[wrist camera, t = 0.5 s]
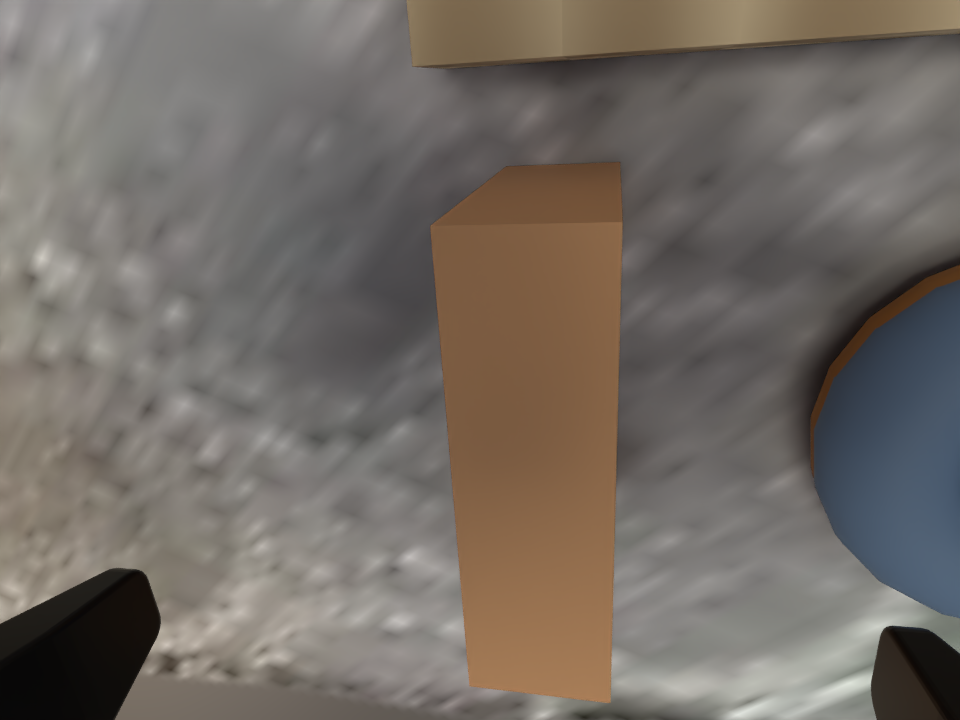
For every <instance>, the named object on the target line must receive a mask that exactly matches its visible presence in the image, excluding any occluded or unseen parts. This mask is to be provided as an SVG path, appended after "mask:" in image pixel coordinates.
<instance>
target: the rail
mask: <svg viewBox="0 0 960 720" xmlns="http://www.w3.org/2000/svg"><path fill="white" fill-rule="evenodd" d="M407 10H408V21H409V32H410V44H411V55H412V67H426V68H441V69H449V68H464V67H478V66H493V65H507V64H522V63H537V62H551V61H566V60H581V59H595V58H610V57H625V56H639V55H654V54H668V53H683V52H698V51H712V50H727V49H742V48H756V47H771V46H785V45H800V44H815V43H829V42H844V41H859V40H873V39H888V38H902V37H917V36H932V35H946V34H960V0H407Z"/></svg>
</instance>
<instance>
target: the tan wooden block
mask: <svg viewBox="0 0 960 720" xmlns="http://www.w3.org/2000/svg"><path fill="white" fill-rule="evenodd" d="M430 230H431V242H432V253H433V265H434V277H435V288H436V300H437V312H438V323H439V335H440V347H441V358H442V370H443V382H444V393H445V405H446V417H447V428H448V440H449V452H450V463H451V475H452V487H453V498H454V510H455V522H456V533H457V545H458V557H459V568H460V580H461V592H462V603H463V615H464V627H465V638H466V650H467V662H468V673H469V685H470V686H472V687H480V688H488V689H497V690H505V691H513V692H522V693H530V694H538V695H547V696H555V697H564V698H572V699H580V700H589V701H597V702H605V703H610V695H611V656H612V618H613V579H614V540H615V501H616V463H617V424H618V385H619V346H620V308H621V269H622V230H623V217H622V194H621V171H620V162H610V163H583V164H557V165H530V166H506V167H505V168H504V169H502V170H501V171H500V172H498V173H497V174H496V175H495V176H493V177H492V178H491V179H490V180H488V181H487V182H486V183H484V184H483V185H482V186H481V187H479V188H478V189H477V190H475V191H474V192H473V193H472V194H470V195H469V196H468V197H467V198H465V199H464V200H463V201H461V202H460V203H459V204H458V205H456V206H455V207H454V208H452V209H451V210H450V211H449V212H447V213H446V214H445V215H443V216H442V217H441V218H440V219H438V220H437V221H436V222H435V223H433V224H432V225H431V226H430Z"/></svg>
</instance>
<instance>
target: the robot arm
mask: <svg viewBox="0 0 960 720" xmlns="http://www.w3.org/2000/svg"><path fill="white" fill-rule="evenodd" d="M160 625H161V617H160V613H159V610H158V607H157V604H156V601H155V598H154V595H153V592H152V589H151V586H150V583H149V580H148V578H147V576H146V575H145V574H144V573H143V572H142V571H140V570H137V569H124V568H113V569H109V570H107V571H105V572H103V573H101V574H99V575H97V576H95V577H93V578H91V579H89V580H87V581H85V582H83V583H81V584H79V585H77V586H75V587H73V588H71V589H69V590H67V591H65V592H63V593H61V594H59V595H57V596H55V597H53V598H51V599H49V600H47V601H45V602H43V603H41V604H39V605H37V606H35V607H33V608H31V609H29V610H27V611H25V612H23V613H21V614H19V615H17V616H15V617H13V618H11V619H9V620H7V621H5V622H3V623H1V624H0V720H115V718H116V716H117V714H118V712H119V710H120V708H121V706H122V704H123V702H124V700H125V698H126V696H127V694H128V693H129V691H130V689H131V687H132V685H133V683H134V681H135V679H136V677H137V675H138V673H139V671H140V669H141V667H142V665H143V663H144V661H145V660H146V658H147V656H148V654H149V652H150V650H151V648H152V646H153V644H154V642H155V640H156V638H157V636H158V633H159V630H160ZM871 696H872V702H873V707H874V711H875V714H876V718H877V720H960V653H958V652H957V651H956V650H955V649H953V648H952V647H951V646H950V645H948V644H947V643H946V642H945V641H943V640H942V639H941V638H940V637H938V636H937V635H936V634H934V633H933V632H931V631H929V630H927V629H923V628H914V627H901V626H889V627H886V628H884V630H883V631H882V633H881V636H880V640H879V645H878V650H877V655H876V660H875V665H874V670H873V675H872V681H871Z"/></svg>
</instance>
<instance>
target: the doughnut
mask: <svg viewBox="0 0 960 720" xmlns="http://www.w3.org/2000/svg"><path fill="white" fill-rule="evenodd" d="M811 469H812V475H813V478H814V482H815V488H816V490H817V493H818V495H819V497H820V500H821V502H822V505H823V507H824V509H825V512H826V514H827V516H828V519H829V521H830V523H831V526H832V528H833V530H834V533H835V534H836V536H837V537H838V538H839V539H840V541H841V542H842V543H843V544H844V545H845V546H846V547H847V548H848V549H849V550H850V551H851V552H852V554H853V555H854V556H855V557H856V558H857V559H858V560H859V561H860V562H861V563H862V564H863V565H864V566H865V567H866V568H867V569H868V570H869V571H870V572H871V573H872V574H873V575H874V576H875V577H876V578H877V579H878V580H879V581H880V582H882V583H884V584H886V585H887V586H889V587H891V588H893V589H895V590H897V591H899V592H901V593H903V594H905V595H907V596H908V597H910V598H912V599H914V600H916V601H918V602H920V603H922V604H924V605H926V606H928V607H929V608H931V609H933V610H935V611H937V612H939V613H941V614H944V615H948V616H953V617H957V618H960V265H958V266H955V267H953V268H950V269H947V270H945V271H942V272H940V273H937V274H934V275H932V276H929V277H927V278H925V279H924V280H922V281H921V282H919V283H918V284H917V285H915V286H914V287H912V288H911V289H909V290H908V291H907V292H905V293H904V294H902V295H901V296H900V297H898V298H897V299H895V300H894V301H892V302H891V303H890V304H888V305H887V306H885V307H884V308H882V309H881V310H880V311H878V312H877V313H875V314H874V315H873V316H871V317H870V318H869V319H868V320H867V321H866V322H865V324H864V325H863V326H862V327H861V329H860V330H859V331H858V332H857V333H856V335H855V336H854V337H853V338H852V340H851V341H850V342H849V343H848V345H847V346H846V347H845V348H844V349H843V351H842V352H841V353H840V354H839V356H838V357H837V358H836V359H835V360H834V362H833V363H832V364H831V365H830V367H829V370H828V372H827V375H826V378H825V380H824V383H823V386H822V388H821V391H820V393H819V396H818V399H817V401H816V404H815V406H814V409H813V412H812V414H811Z"/></svg>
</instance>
